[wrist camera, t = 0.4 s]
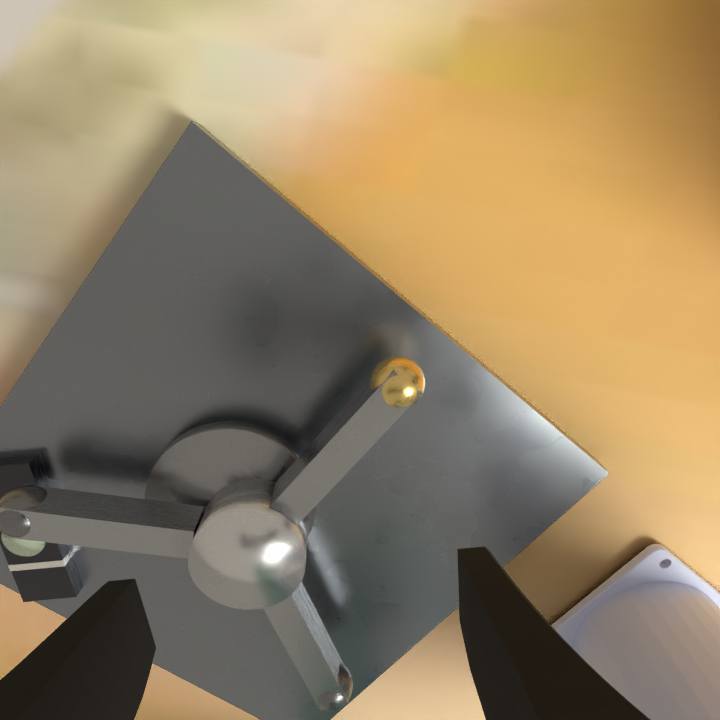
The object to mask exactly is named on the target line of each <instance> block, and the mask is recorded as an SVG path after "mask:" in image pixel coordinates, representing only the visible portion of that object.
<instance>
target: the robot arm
mask: <svg viewBox="0 0 720 720" xmlns="http://www.w3.org/2000/svg"><path fill="white" fill-rule="evenodd" d="M457 553H458V583H459V613H460V624H461V629H462V633H463V638H464V643H465V648H466V652H467V657H468V661H469V666H470V670H471V673H472V677H473V680H474V683H475V686H476V689H477V692H478V696H479V699H480V702H481V705H482V708H483V711H484V715H485V718H486V720H720V592H719V591H717V590H716V589H715V588H714V587H712V586H711V585H710V584H709V583H708V582H706V581H705V580H704V579H703V578H702V577H700V576H699V575H698V574H697V573H695V572H694V571H693V570H692V569H691V568H689V567H688V566H687V565H686V564H685V563H683V562H682V561H681V560H680V559H678V558H677V557H676V556H675V555H674V554H672V553H671V552H670V551H669V550H667V549H666V548H665V547H664V546H663V545H660V544H652V545H650V546H648V547H646V548H645V549H644V550H643V551H642V552H640V553H639V554H638V555H637V556H635V557H634V558H633V559H632V560H630V561H629V562H628V563H627V564H626V565H624V566H623V567H622V568H621V569H619V570H618V571H617V572H616V573H615V574H613V575H612V576H611V577H610V578H608V579H607V580H606V581H605V582H604V583H602V584H601V585H600V586H599V587H597V588H596V589H595V590H594V591H592V592H591V593H590V594H589V595H588V596H586V597H585V598H584V599H583V600H581V601H580V602H579V603H578V604H577V605H575V606H574V607H573V608H572V609H570V610H569V611H568V612H567V613H566V614H564V615H563V616H562V617H561V618H559V619H558V620H557V621H556V622H554V623H553V624H552V625H550V624H549V623H548V621H547V620H546V619H545V618H544V617H543V616H542V615H541V614H540V612H539V611H538V610H537V609H536V608H535V607H534V606H533V605H532V603H531V602H530V601H529V600H528V599H527V598H526V596H525V595H524V594H523V593H522V592H521V590H520V589H519V588H518V587H517V586H516V584H515V583H514V582H513V581H512V579H511V578H510V577H509V576H508V574H507V573H506V572H505V570H504V569H503V568H502V567H501V565H500V564H499V563H498V561H497V560H496V558H495V557H494V556H493V554H492V553H491V551H490V550H489V549H487V548H486V547H474V548H463V549H457ZM664 559H665V560H664ZM662 560H664V561H662ZM661 561H662V562H661ZM155 650H156V645H155V642H154V639H153V635H152V632H151V629H150V626H149V622H148V619H147V616H146V612H145V609H144V606H143V603H142V599H141V596H140V593H139V589H138V586H137V583H136V580H135V579H125V580H115V581H108V582H107V583H106V584H104V585H103V586H102V587H101V588H100V589H99V590H98V591H96V592H95V593H94V594H93V595H92V596H91V597H90V598H89V599H88V600H87V601H86V602H85V603H83V604H82V605H81V606H80V607H79V608H78V609H77V610H76V611H75V612H74V613H73V614H72V615H71V616H70V617H69V618H68V619H67V620H65V621H64V622H63V623H62V624H61V625H60V626H59V627H58V628H57V629H56V630H55V631H54V632H53V633H52V634H51V635H50V636H48V637H47V638H46V639H45V640H44V641H43V642H42V643H41V644H40V645H39V646H38V647H37V648H36V649H34V650H33V651H32V652H31V653H30V654H29V655H28V656H27V657H26V658H25V659H24V660H23V661H22V662H20V663H19V664H18V665H17V666H16V667H15V668H14V669H13V670H11V671H10V672H9V673H8V674H7V675H6V676H5V677H3V678H2V679H1V680H0V720H134V718H135V715H136V713H137V710H138V708H139V705H140V703H141V700H142V697H143V694H144V690H145V687H146V684H147V680H148V677H149V673H150V669H151V665H152V662H153V658H154V654H155Z"/></svg>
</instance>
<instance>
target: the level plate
mask: <svg viewBox="0 0 720 720" xmlns="http://www.w3.org/2000/svg"><path fill="white" fill-rule="evenodd" d="M391 356H404V357H408V358H410V359H412V360H413V361H415V362H416V363H417V364H418V365H419V367H420V368H421V370H422V371H423V374H424V378H425V389H424V392H423V395H422V397H421V398H420V400H419V401H418V402H417V403H416V404H415V405H413V406H412V407H410V408H408V409H407V410H406V411H405V412H404V413H403V414H402V415H401V416H400V418H399V419H398V420H397V421H396V422H395V423H394V424H393V425H392V426H391V427H390V428H389V429H388V430H387V431H386V432H385V433H384V434H383V435H382V437H381V438H380V439H379V440H378V441H377V442H376V443H375V444H374V445H373V446H372V447H371V448H370V449H369V450H368V451H367V452H366V453H365V454H364V455H363V457H362V458H361V459H360V460H359V461H358V462H357V463H356V464H355V465H354V466H353V467H352V468H351V469H350V470H349V471H348V472H347V473H346V474H345V476H344V477H343V478H342V479H341V480H340V481H339V482H338V483H337V484H336V485H335V486H334V487H333V488H332V489H331V490H330V491H329V492H328V493H327V495H326V496H325V497H324V498H323V499H322V500H321V501H320V502H319V503H318V504H317V505H316V515H315V520H314V524H313V527H312V530H311V532H310V534H309V536H308V544H307V554H306V564H305V573H304V577H303V579H302V583H303V585H304V587H305V589H306V591H307V593H308V595H309V597H310V599H311V601H312V603H313V605H314V607H315V609H316V611H317V613H318V615H319V616H320V618H321V620H322V622H323V624H324V626H325V628H326V630H327V632H328V634H329V636H330V638H331V640H332V642H333V644H334V646H335V648H336V649H337V651H338V653H339V655H340V657H341V659H342V661H343V663H344V664H345V665H346V667H347V668H348V669H349V671H350V673H351V675H352V680H353V689H352V693H351V696H350V698H349V700H348V703H350V702H351V701H352V700H353V699H354V698H355V697H356V696H357V695H359V694H360V693H361V692H362V691H363V690H364V689H365V688H367V687H368V686H369V685H370V684H371V683H372V682H373V681H375V680H376V679H377V678H378V677H379V676H380V675H381V674H382V673H384V672H385V671H386V670H387V669H388V668H389V667H390V666H392V665H393V664H394V663H395V662H396V661H397V660H398V659H399V658H401V657H402V656H403V655H404V654H405V653H406V652H407V651H409V650H410V649H411V648H412V647H413V646H414V645H415V644H417V643H418V642H419V641H420V640H421V639H422V638H423V637H424V636H426V635H427V634H428V633H429V632H430V631H431V630H432V629H434V628H435V627H436V626H437V625H438V624H439V623H440V622H442V621H443V620H444V619H445V618H446V617H447V616H448V615H449V614H451V613H452V612H453V611H454V610H455V609H456V608H457V607H459V583H458V553H457V549H463V548H474V547H486V548H487V549H489V550H490V551H491V553H492V554H493V556H494V557H495V558H496V560H497V561H498V563H499V564H500V565H501V567H502V568H503V567H504V566H505V565H506V564H507V563H508V562H510V561H511V560H512V559H513V558H514V557H515V556H516V555H518V554H519V553H520V552H521V551H522V550H523V549H524V548H526V547H527V546H528V545H529V544H530V543H531V542H532V541H533V540H535V539H536V538H537V537H538V536H539V535H540V534H541V533H543V532H544V531H545V530H546V529H547V528H548V527H549V526H550V525H552V524H553V523H554V522H555V521H556V520H557V519H558V518H560V517H561V516H562V515H563V514H564V513H565V512H566V511H568V510H569V509H570V508H571V507H572V506H573V505H574V504H575V503H577V502H578V501H579V500H580V499H581V498H582V497H583V496H585V495H586V494H587V493H588V492H589V491H590V490H591V489H592V488H594V487H595V486H596V485H597V484H598V483H599V482H600V481H602V480H603V479H604V478H605V477H606V476H607V475H608V474H609V473H608V471H607V470H606V469H605V468H604V467H603V466H602V465H601V464H600V463H599V462H598V460H596V459H595V458H594V457H593V456H592V455H590V454H589V453H588V452H587V451H586V450H585V449H583V448H582V447H581V446H580V445H579V444H577V443H576V442H575V441H574V440H573V439H571V438H570V437H569V436H568V435H567V434H566V433H564V432H563V431H562V430H561V429H560V428H558V427H557V426H556V425H555V424H554V423H553V422H551V421H550V420H549V419H548V418H547V417H545V416H544V415H543V414H542V413H541V412H540V411H538V410H537V409H536V408H535V407H534V406H532V405H531V404H530V403H529V402H528V401H527V400H525V399H524V398H523V397H522V396H521V395H519V394H518V393H517V392H516V391H515V390H514V389H512V388H511V387H510V386H509V385H508V384H506V383H505V382H504V381H503V380H502V379H501V378H499V377H498V376H497V375H496V374H495V373H493V372H492V371H491V370H490V369H489V368H488V367H486V366H485V365H484V364H483V363H482V362H480V361H479V360H478V359H477V358H476V357H474V356H473V355H472V354H471V353H470V352H469V351H467V350H466V349H465V348H464V347H463V346H461V345H460V344H459V343H458V342H457V341H456V340H454V339H453V338H452V337H451V336H450V335H448V334H447V333H446V332H445V331H444V330H443V329H441V328H440V327H439V326H438V325H437V324H435V323H434V322H433V321H432V320H431V319H430V318H428V317H427V316H426V315H425V314H424V313H422V312H421V311H420V310H419V309H418V308H417V307H415V306H414V305H413V304H412V303H411V302H409V301H408V300H407V299H406V298H405V297H404V296H402V295H401V294H400V293H399V292H398V291H396V290H395V289H394V288H393V287H392V286H391V285H389V284H388V283H387V282H386V281H385V280H383V279H382V278H381V277H380V276H379V275H377V274H376V273H375V272H374V271H373V270H372V269H370V268H369V267H368V266H367V265H366V264H364V263H363V262H362V261H361V260H360V259H359V258H357V257H356V256H355V255H354V254H353V253H351V252H350V251H349V250H348V249H347V248H346V247H344V246H343V245H342V244H341V243H340V242H338V241H337V240H336V239H335V238H334V237H333V236H331V235H330V234H329V233H328V232H327V231H325V230H324V229H323V228H322V227H321V226H320V225H318V224H317V223H316V222H315V221H314V220H312V219H311V218H310V217H309V216H308V215H307V214H305V213H304V212H303V211H302V210H301V209H299V208H298V207H297V206H296V205H295V204H293V203H292V202H291V201H290V200H289V199H288V198H286V197H285V196H284V195H283V194H282V193H280V192H279V191H278V190H277V189H276V188H275V187H273V186H272V185H271V184H270V183H269V182H267V181H266V180H265V179H264V178H263V177H262V176H260V175H259V174H258V173H257V172H256V171H254V170H253V169H252V168H251V167H250V166H249V165H247V164H246V163H245V162H244V161H243V160H241V159H240V158H239V157H238V156H237V155H236V154H234V153H233V152H232V151H231V150H230V149H228V148H227V147H226V146H225V145H224V144H223V143H221V142H220V141H219V140H218V139H217V138H215V137H214V136H213V135H212V134H211V133H210V132H208V131H207V130H206V129H205V128H204V127H202V126H201V125H200V124H197V123H194V122H191V123H190V125H189V126H188V128H187V129H186V131H185V132H184V134H183V135H182V137H181V138H180V140H179V141H178V143H177V144H176V146H175V147H174V149H173V150H172V152H171V153H170V155H169V156H168V158H167V159H166V161H165V162H164V163H163V165H162V166H161V168H160V169H159V171H158V172H157V174H156V175H155V177H154V178H153V180H152V181H151V183H150V184H149V186H148V187H147V189H146V190H145V192H144V193H143V195H142V196H141V198H140V199H139V201H138V202H137V204H136V205H135V207H134V208H133V210H132V211H131V213H130V214H129V216H128V217H127V219H126V220H125V222H124V223H123V225H122V226H121V228H120V229H119V231H118V232H117V234H116V235H115V237H114V238H113V240H112V241H111V243H110V244H109V246H108V247H107V248H106V250H105V251H104V253H103V254H102V256H101V257H100V259H99V260H98V262H97V263H96V265H95V266H94V268H93V269H92V271H91V272H90V274H89V275H88V277H87V278H86V280H85V281H84V283H83V284H82V286H81V287H80V289H79V290H78V292H77V293H76V295H75V296H74V298H73V299H72V301H71V302H70V304H69V305H68V307H67V308H66V310H65V311H64V313H63V314H62V316H61V317H60V319H59V320H58V322H57V323H56V325H55V326H54V328H53V329H52V331H51V332H50V334H49V335H48V336H47V338H46V339H45V341H44V342H43V344H42V345H41V347H40V348H39V350H38V351H37V353H36V354H35V356H34V357H33V359H32V360H31V362H30V363H29V365H28V366H27V368H26V369H25V371H24V372H23V374H22V375H21V377H20V378H19V380H18V381H17V383H16V384H15V386H14V387H13V389H12V390H11V392H10V393H9V395H8V396H7V398H6V399H5V401H4V402H3V404H2V405H1V407H0V499H1V498H2V496H3V495H5V494H6V493H7V492H8V491H10V490H12V489H14V488H16V487H19V486H23V485H24V484H28V485H36V486H44V487H52V488H60V489H68V490H76V491H84V492H92V493H99V494H107V495H115V496H123V497H131V498H139V499H145V489H146V484H147V480H148V477H149V475H150V473H151V471H152V469H153V467H154V466H155V464H156V463H157V461H158V459H159V458H160V456H161V455H162V454H163V452H164V451H165V449H166V448H167V447H168V446H169V445H170V444H171V443H172V442H173V441H174V440H175V439H177V438H178V437H179V436H180V435H182V434H184V433H185V432H187V431H189V430H191V429H193V428H196V427H198V426H201V425H205V424H208V423H213V422H220V421H239V422H246V423H251V424H256V425H259V426H262V427H265V428H267V429H269V430H272V431H274V432H276V433H278V434H279V435H281V436H282V437H284V438H286V439H287V440H288V441H289V442H291V443H292V444H293V445H294V446H295V447H296V448H297V449H298V450H299V451H300V452H301V453H303V452H304V451H305V449H306V448H307V447H308V446H309V445H310V444H311V443H312V442H313V441H314V440H315V438H316V437H317V436H318V435H319V434H320V433H321V432H322V431H323V430H324V428H325V427H326V426H327V425H328V424H329V423H330V422H331V421H332V420H333V419H334V417H335V416H336V415H337V414H338V413H339V412H340V411H341V410H342V409H343V407H344V406H345V405H346V404H347V403H348V402H349V401H350V400H351V399H352V397H353V396H354V395H355V394H356V393H357V392H358V391H359V390H360V389H361V388H362V386H363V385H364V384H365V383H366V382H367V381H368V380H369V379H370V378H371V374H372V372H373V370H374V368H375V367H376V365H377V364H378V363H379V362H381V361H382V360H384V359H385V358H388V357H391ZM125 579H135V580H136V583H137V586H138V589H139V593H140V596H141V599H142V603H143V606H144V609H145V612H146V616H147V619H148V622H149V626H150V629H151V632H152V635H153V639H154V642H155V645H156V650H155V654H154V658H153V662H152V663H154V664H155V665H157V666H159V667H161V668H163V669H165V670H167V671H169V672H171V673H173V674H175V675H177V676H178V677H180V678H182V679H184V680H186V681H188V682H190V683H192V684H194V685H196V686H198V687H199V688H201V689H203V690H205V691H207V692H209V693H211V694H213V695H215V696H217V697H219V698H221V699H222V700H224V701H226V702H228V703H230V704H232V705H234V706H236V707H238V708H240V709H242V710H244V711H245V712H247V713H249V714H251V715H253V716H255V717H257V718H259V719H261V720H330V719H331V718H333V717H334V716H335V715H336V714H337V713H338V712H339V711H340V710H342V709H343V708H344V707H345V706H346V705H347V704H345V705H344V706H343V707H341V708H340V709H337V710H334V711H328V710H323V711H320V709H319V707H318V705H317V704H316V703H315V702H314V700H313V698H312V696H311V693H310V691H309V689H308V688H307V686H306V684H305V682H304V681H303V679H302V677H301V675H300V673H299V672H298V670H297V668H296V666H295V665H294V663H293V661H292V659H291V657H290V656H289V654H288V652H287V650H286V649H285V647H284V645H283V643H282V641H281V640H280V638H279V636H278V634H277V633H276V631H275V629H274V627H273V625H272V624H271V622H270V620H269V618H268V617H267V615H266V613H265V611H264V609H263V608H262V609H254V610H245V609H236V608H231V607H228V606H225V605H222V604H220V603H218V602H216V601H214V600H212V599H210V598H209V597H207V596H206V595H205V594H204V593H203V592H202V591H201V590H200V589H199V588H198V587H197V586H196V584H195V583H194V582H193V580H192V578H191V576H190V573H189V569H188V562H186V561H185V560H183V559H181V558H177V557H168V556H160V555H151V554H142V553H134V552H125V551H117V550H108V549H100V548H91V547H83V546H74V545H65V544H57V543H48V542H40V541H31V540H23V539H14V538H6V537H2V532H1V531H0V584H2V585H4V586H6V587H8V588H10V589H12V590H14V591H16V592H17V593H19V594H21V597H22V599H23V602H28V601H35V602H37V603H39V604H40V605H42V606H44V607H46V608H48V609H50V610H52V611H54V612H56V613H58V614H60V615H62V616H63V617H65V618H67V619H68V618H69V617H70V616H71V615H72V614H73V613H74V612H75V611H76V610H77V609H78V608H79V607H80V606H81V605H82V604H83V603H85V602H86V601H87V600H88V599H89V598H90V597H91V596H92V595H93V594H94V593H95V592H96V591H98V590H99V589H100V588H101V587H102V586H103V585H104V584H106V583H107V582H108V581H115V580H125Z"/></svg>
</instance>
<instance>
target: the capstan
mask: <svg viewBox="0 0 720 720" xmlns="http://www.w3.org/2000/svg"><path fill="white" fill-rule="evenodd" d="M424 389H425V378H424V374H423V371H422V370H421V368H420V367H419V365H418V364H417V363H416V362H415V361H413V360H412V359H410V358H408V357H404V356H391V357H388V358H385V359H384V360H382V361H381V362H379V363H378V364H377V365H376V367H375V368H374V370H373V372H372V374H371V378H370V379H369V380H368V381H367V382H366V383H365V384H364V385H363V386H362V388H361V389H360V390H359V391H358V392H357V393H356V394H355V395H354V396H353V397H352V399H351V400H350V401H349V402H348V403H347V404H346V405H345V406H344V407H343V409H342V410H341V411H340V412H339V413H338V414H337V415H336V416H335V417H334V419H333V420H332V421H331V422H330V423H329V424H328V425H327V426H326V427H325V428H324V430H323V431H322V432H321V433H320V434H319V435H318V436H317V437H316V438H315V440H314V441H313V442H312V443H311V444H310V445H309V446H308V447H307V448H306V449H305V451H304V452H303V453H301V452H300V451H299V450H298V449H297V448H296V447H295V446H294V445H293V444H292V443H291V442H289V441H288V440H287V439H286V438H284V437H282V436H281V435H279V434H278V433H276V432H274V431H272V430H269V429H267V428H265V427H262V426H259V425H256V424H251V423H246V422H239V421H220V422H213V423H208V424H205V425H201V426H198V427H196V428H193V429H191V430H189V431H187V432H185V433H184V434H182V435H180V436H179V437H178V438H177V439H175V440H174V441H173V442H172V443H171V444H170V445H169V446H168V447H167V448H166V449H165V451H164V452H163V454H162V455H161V456H160V458H159V459H158V461H157V463H156V464H155V466H154V467H153V469H152V471H151V473H150V475H149V477H148V480H147V484H146V489H145V499H139V498H131V497H123V496H115V495H107V494H99V493H92V492H84V491H76V490H68V489H60V488H52V487H44V486H36V485H28V484H24V485H23V486H19V487H16V488H14V489H12V490H10V491H8V492H7V493H6V494H5V495H3V496H2V498H1V499H0V531H1V532H2V537H6V538H14V539H23V540H31V541H40V542H48V543H57V544H65V545H74V546H83V547H91V548H100V549H108V550H117V551H125V552H134V553H142V554H151V555H160V556H168V557H177V558H181V559H183V560H185V561H186V562H188V569H189V573H190V576H191V578H192V580H193V582H194V583H195V584H196V586H197V587H198V588H199V589H200V590H201V591H202V592H203V593H204V594H205V595H206V596H207V597H209V598H210V599H212V600H214V601H216V602H218V603H220V604H222V605H225V606H228V607H231V608H236V609H245V610H254V609H262V608H263V609H264V611H265V613H266V615H267V617H268V618H269V620H270V622H271V624H272V625H273V627H274V629H275V631H276V633H277V634H278V636H279V638H280V640H281V641H282V643H283V645H284V647H285V649H286V650H287V652H288V654H289V656H290V657H291V659H292V661H293V663H294V665H295V666H296V668H297V670H298V672H299V673H300V675H301V677H302V679H303V681H304V682H305V684H306V686H307V688H308V689H309V691H310V693H311V696H312V698H313V700H314V702H315V703H316V704H317V705H318V707H319V709H320V711H323V710H328V711H334V710H337V709H340V708H341V707H343V706H344V705H345V704H348V700H349V698H350V696H351V693H352V689H353V680H352V675H351V673H350V671H349V669H348V668H347V667H346V665H345V664H344V663H343V661H342V659H341V657H340V655H339V653H338V651H337V649H336V648H335V646H334V644H333V642H332V640H331V638H330V636H329V634H328V632H327V630H326V628H325V626H324V624H323V622H322V620H321V618H320V616H319V615H318V613H317V611H316V609H315V607H314V605H313V603H312V601H311V599H310V597H309V595H308V593H307V591H306V589H305V587H304V585H303V583H302V579H303V577H304V573H305V564H306V554H307V544H308V536H309V534H310V532H311V530H312V527H313V524H314V520H315V515H316V505H317V504H318V503H319V502H320V501H321V500H322V499H323V498H324V497H325V496H326V495H327V493H328V492H329V491H330V490H331V489H332V488H333V487H334V486H335V485H336V484H337V483H338V482H339V481H340V480H341V479H342V478H343V477H344V476H345V474H346V473H347V472H348V471H349V470H350V469H351V468H352V467H353V466H354V465H355V464H356V463H357V462H358V461H359V460H360V459H361V458H362V457H363V455H364V454H365V453H366V452H367V451H368V450H369V449H370V448H371V447H372V446H373V445H374V444H375V443H376V442H377V441H378V440H379V439H380V438H381V437H382V435H383V434H384V433H385V432H386V431H387V430H388V429H389V428H390V427H391V426H392V425H393V424H394V423H395V422H396V421H397V420H398V419H399V418H400V416H401V415H402V414H403V413H404V412H405V411H406V410H407V409H408V408H410V407H412V406H413V405H415V404H416V403H417V402H418V401H419V400H420V398H421V397H422V395H423V392H424Z"/></svg>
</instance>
